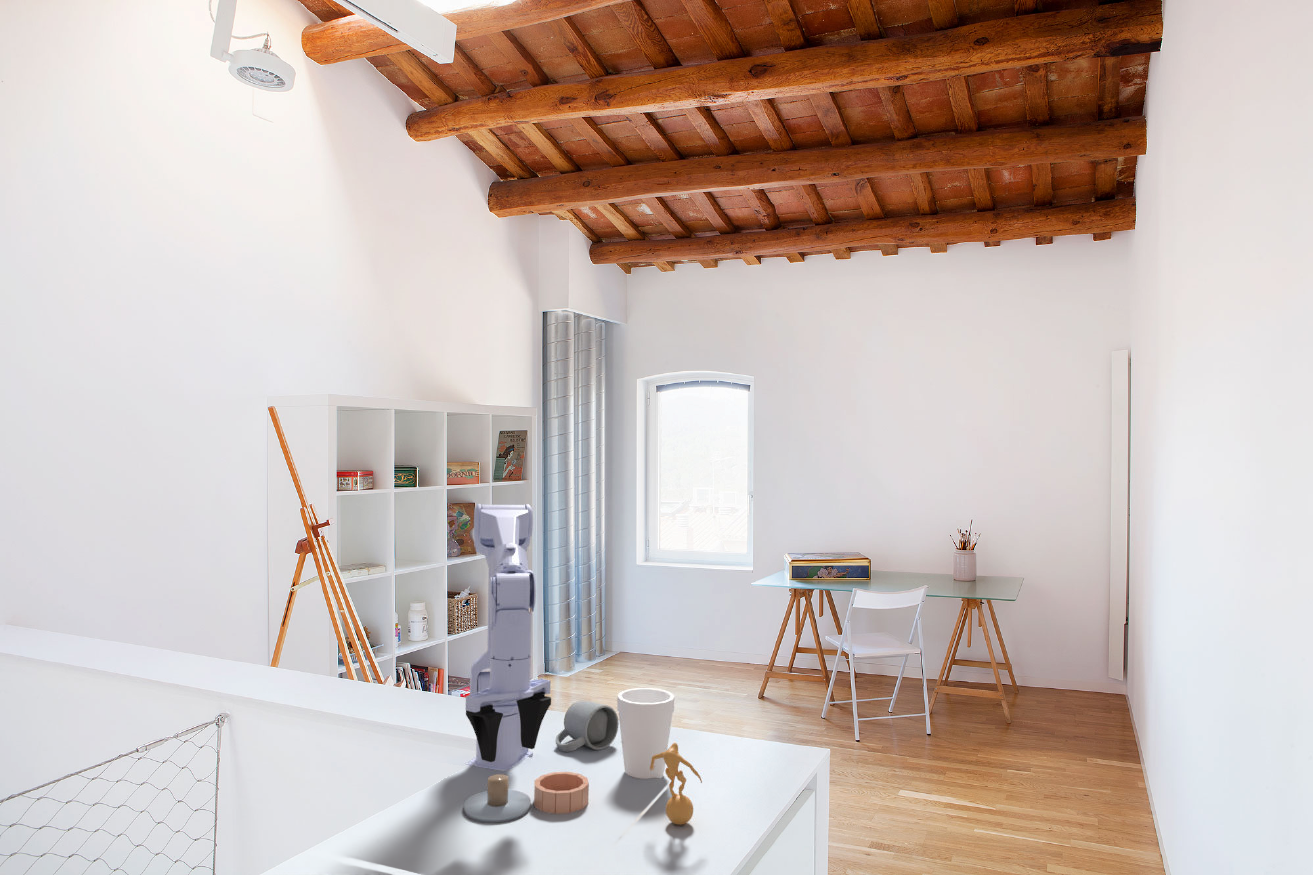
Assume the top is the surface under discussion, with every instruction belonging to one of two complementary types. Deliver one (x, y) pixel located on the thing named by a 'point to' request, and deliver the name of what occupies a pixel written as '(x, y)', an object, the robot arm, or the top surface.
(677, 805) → the figurine
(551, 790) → the bowl
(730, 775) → the top surface
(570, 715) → the ceramic mug
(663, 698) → the foam cup
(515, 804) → the lid
